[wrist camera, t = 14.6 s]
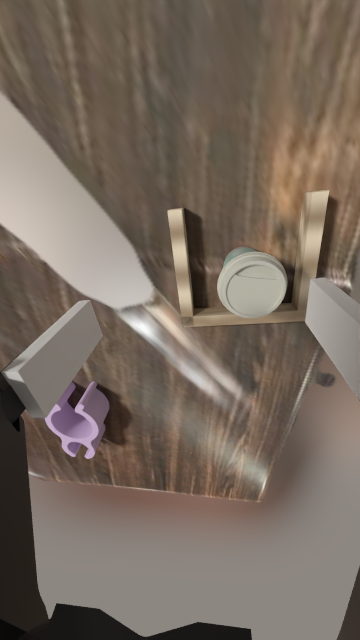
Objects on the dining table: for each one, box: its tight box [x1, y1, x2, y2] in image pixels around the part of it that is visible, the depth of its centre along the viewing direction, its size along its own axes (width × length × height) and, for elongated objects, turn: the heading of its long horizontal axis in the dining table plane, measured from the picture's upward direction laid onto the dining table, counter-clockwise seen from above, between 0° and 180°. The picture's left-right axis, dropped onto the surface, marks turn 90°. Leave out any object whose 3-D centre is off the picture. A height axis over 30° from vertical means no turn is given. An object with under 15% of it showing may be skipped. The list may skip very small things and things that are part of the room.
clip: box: [45, 381, 109, 459], centre depth 58 cm, size 20×12×7 cm, turn 177°
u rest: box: [168, 190, 329, 327], centre depth 38 cm, size 19×21×3 cm
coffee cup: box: [217, 246, 287, 318], centre depth 34 cm, size 8×8×12 cm
